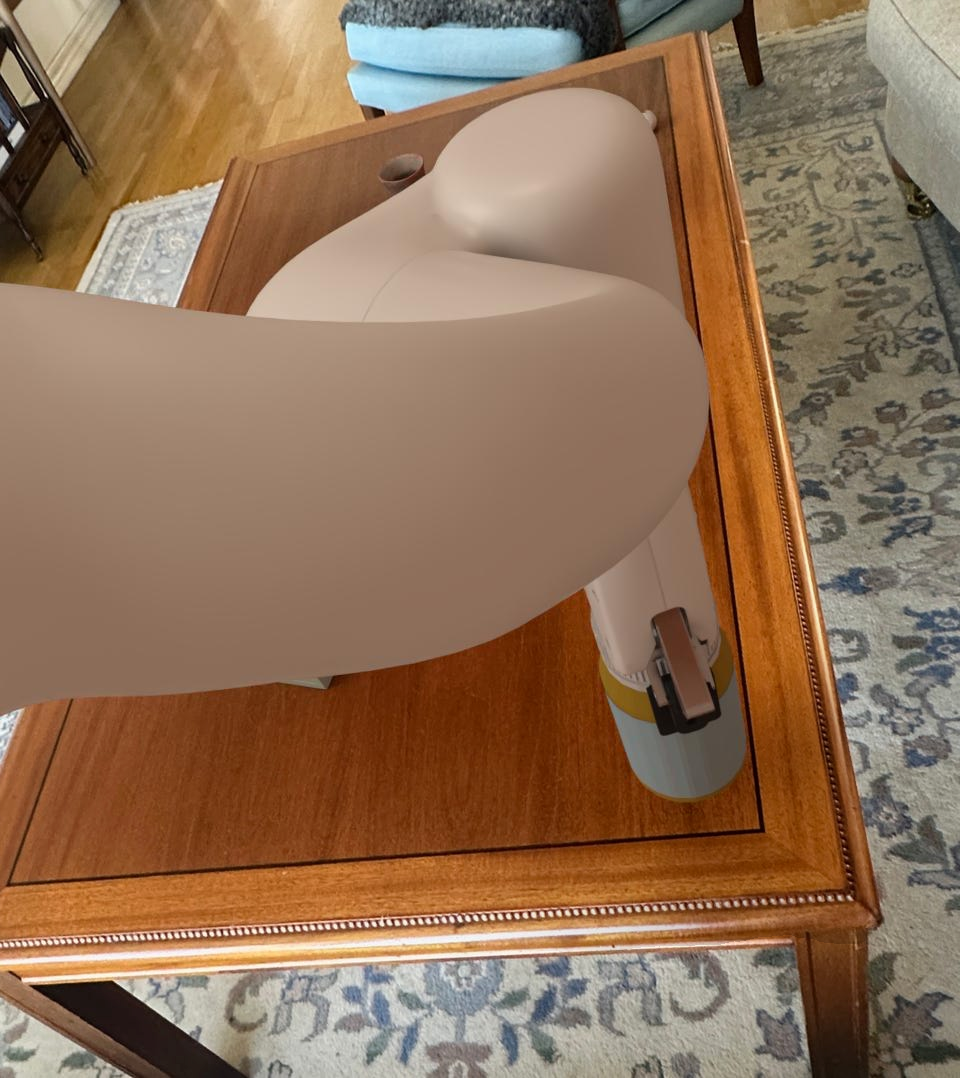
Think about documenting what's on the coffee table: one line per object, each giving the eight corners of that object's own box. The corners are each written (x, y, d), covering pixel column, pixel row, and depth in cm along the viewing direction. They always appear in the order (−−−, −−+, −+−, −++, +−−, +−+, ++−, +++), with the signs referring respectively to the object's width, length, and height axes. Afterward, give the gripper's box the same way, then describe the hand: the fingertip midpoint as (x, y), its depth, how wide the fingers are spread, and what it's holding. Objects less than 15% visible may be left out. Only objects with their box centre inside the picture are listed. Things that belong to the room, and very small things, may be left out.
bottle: (746, 701, 60) (723, 548, 49) (749, 808, 56) (724, 665, 45) (632, 703, 62) (587, 556, 52) (627, 806, 58) (576, 669, 47)
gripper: (474, 330, 45) (557, 567, 58) (569, 614, 33) (647, 833, 46) (629, 274, 45) (678, 525, 58) (782, 542, 33) (801, 783, 46)
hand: (664, 660), depth 52 cm, fingers closed on bottle, 7 cm apart
